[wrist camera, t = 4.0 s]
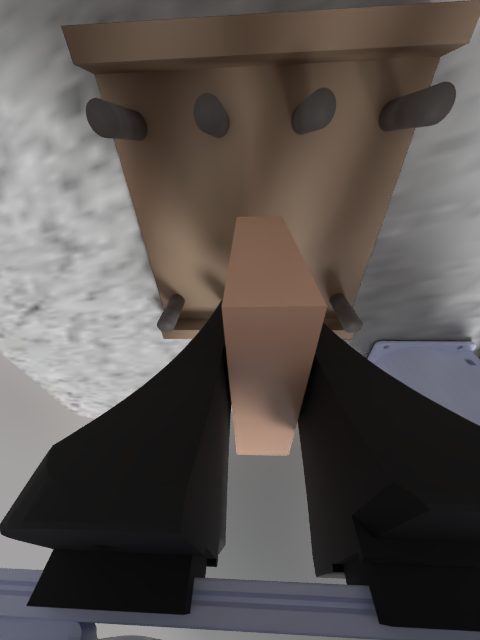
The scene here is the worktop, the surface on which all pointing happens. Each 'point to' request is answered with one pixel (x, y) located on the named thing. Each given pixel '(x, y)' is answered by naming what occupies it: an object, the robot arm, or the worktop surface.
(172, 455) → the robot arm
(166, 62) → the rack
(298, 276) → the pink square slab
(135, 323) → the worktop surface
